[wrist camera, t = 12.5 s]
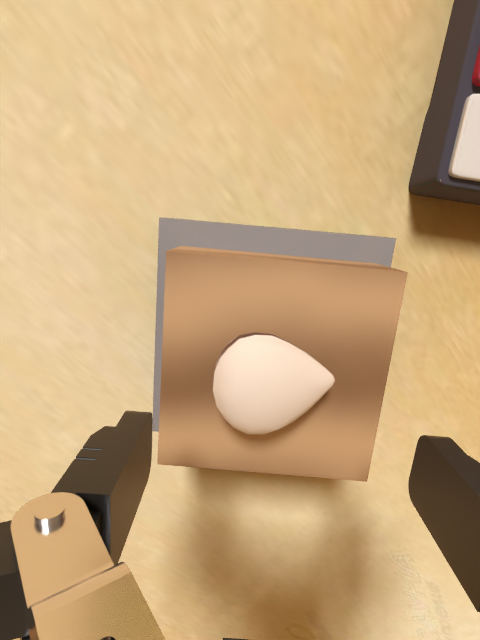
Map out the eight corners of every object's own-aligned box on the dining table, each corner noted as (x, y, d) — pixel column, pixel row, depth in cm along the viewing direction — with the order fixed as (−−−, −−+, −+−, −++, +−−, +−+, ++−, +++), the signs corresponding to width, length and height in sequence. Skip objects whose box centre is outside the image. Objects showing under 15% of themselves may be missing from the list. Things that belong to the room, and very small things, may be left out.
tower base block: (173, 218, 23) (159, 217, 19) (370, 235, 23) (395, 238, 19) (165, 400, 26) (152, 431, 22) (340, 414, 26) (357, 447, 22)
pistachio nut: (212, 327, 16) (207, 345, 14) (328, 321, 16) (344, 339, 14) (218, 417, 18) (214, 449, 15) (328, 413, 17) (342, 444, 15)
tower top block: (181, 245, 20) (166, 250, 16) (375, 263, 20) (407, 272, 16) (172, 421, 22) (157, 464, 18) (345, 436, 22) (367, 481, 18)
